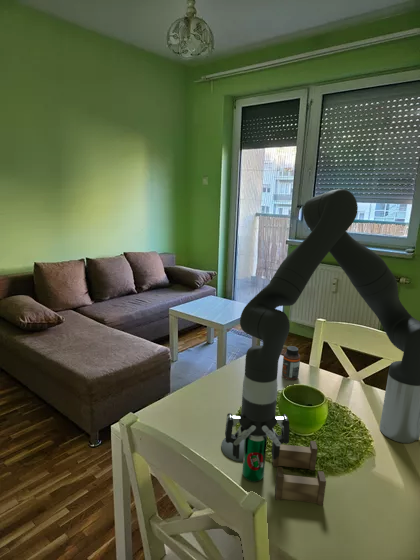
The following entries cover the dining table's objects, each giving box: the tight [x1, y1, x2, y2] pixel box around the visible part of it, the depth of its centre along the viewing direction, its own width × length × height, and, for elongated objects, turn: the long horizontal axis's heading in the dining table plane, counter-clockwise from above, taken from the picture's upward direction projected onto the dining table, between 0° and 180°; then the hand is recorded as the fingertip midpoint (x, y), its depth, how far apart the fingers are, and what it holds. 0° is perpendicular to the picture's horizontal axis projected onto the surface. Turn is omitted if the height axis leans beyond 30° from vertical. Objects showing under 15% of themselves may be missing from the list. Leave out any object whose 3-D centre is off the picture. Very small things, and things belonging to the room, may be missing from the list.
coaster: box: [221, 433, 244, 463], centre depth 94 cm, size 10×10×1 cm
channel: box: [271, 440, 327, 506], centre depth 83 cm, size 10×13×6 cm
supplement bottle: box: [281, 345, 301, 381], centre depth 131 cm, size 6×6×11 cm
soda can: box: [241, 435, 268, 483], centre depth 84 cm, size 5×5×12 cm
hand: (255, 456), depth 83 cm, fingers open, 8 cm apart
